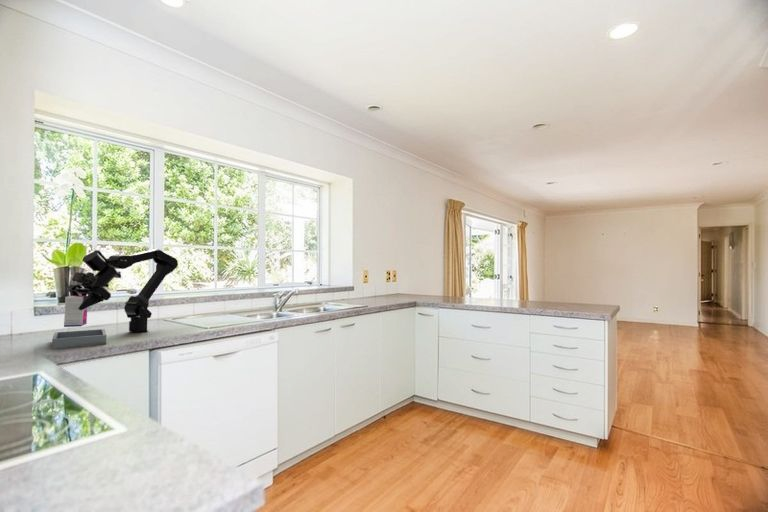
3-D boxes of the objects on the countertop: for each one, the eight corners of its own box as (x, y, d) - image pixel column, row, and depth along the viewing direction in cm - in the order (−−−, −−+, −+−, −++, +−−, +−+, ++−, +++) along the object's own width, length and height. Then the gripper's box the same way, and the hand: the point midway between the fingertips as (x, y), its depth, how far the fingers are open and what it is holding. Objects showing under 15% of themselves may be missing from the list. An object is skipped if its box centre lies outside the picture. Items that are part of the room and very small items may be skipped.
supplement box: (82, 326, 153) (82, 296, 153) (63, 327, 150) (64, 297, 151) (87, 324, 158) (88, 295, 158) (69, 324, 156) (70, 295, 156)
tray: (104, 337, 165) (104, 328, 165) (106, 344, 152) (106, 335, 152) (54, 341, 155) (54, 332, 155) (51, 349, 143) (52, 339, 143)
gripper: (72, 264, 161) (40, 294, 151) (103, 265, 155) (72, 296, 144) (92, 282, 169) (62, 312, 158) (123, 284, 162) (94, 315, 152)
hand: (72, 308), depth 153 cm, fingers closed on supplement box, 8 cm apart
